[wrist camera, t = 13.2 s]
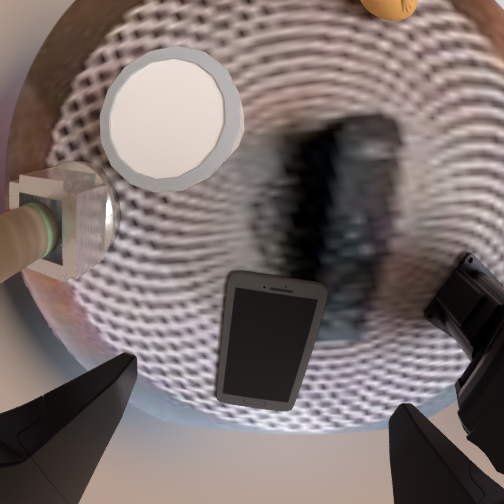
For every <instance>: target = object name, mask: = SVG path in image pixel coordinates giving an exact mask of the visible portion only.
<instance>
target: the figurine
mask: <svg viewBox="0 0 504 504" xmlns="http://www.w3.org/2000/svg"><path fill="white" fill-rule="evenodd" d="M360 1H361V3H362V4H363V6H364V7H365V8H366V9H367V10H368V11H369V12H370V13H372V14H373V15H375V16H377V17H379V18H381V19H385V20H390V21H397V20H402V19H405V18H407V17H409V16H410V15H411V14H412V13H413V12H414V10H415V8H416V6H417V0H360Z"/></svg>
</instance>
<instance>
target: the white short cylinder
mask: <svg viewBox="0 0 504 504" xmlns="http://www.w3.org/2000/svg"><path fill="white" fill-rule="evenodd" d="M243 133H244V113H243V108H242V103H241V98H240V94H239V92H238V90H237V88H236V86H235V84H234V82H233V80H232V78H231V76H230V74H229V72H228V70H227V69H226V68H225V67H224V66H222V65H221V64H220V63H218V62H217V61H216V60H215V59H213V58H212V57H211V56H209V55H208V54H207V53H205V52H203V51H198V50H194V49H189V48H184V47H179V46H174V47H169V48H164V49H159V50H154V51H150V52H148V53H146V54H145V55H143V56H141V57H140V58H138V59H137V60H135V61H133V62H132V63H130V64H129V65H127V66H126V67H125V68H124V69H123V70H122V72H121V73H120V74H119V76H118V77H117V78H116V79H115V81H114V82H113V83H112V85H111V86H110V87H109V89H108V91H107V94H106V97H105V100H104V103H103V107H102V110H101V113H100V135H101V144H102V146H103V148H104V151H105V153H106V155H107V157H108V160H109V162H110V164H111V166H112V167H113V168H114V169H115V170H116V171H117V172H118V173H119V174H120V175H121V176H122V177H123V178H124V179H125V180H127V181H128V182H129V183H130V184H132V185H135V186H138V187H140V188H143V189H146V190H149V191H151V192H154V193H157V192H172V191H183V190H185V189H187V188H189V187H191V186H193V185H195V184H197V183H199V182H201V181H203V180H205V179H207V178H209V177H210V176H211V175H212V174H213V173H214V172H215V171H216V170H217V169H218V168H219V167H220V166H221V165H222V163H223V162H224V161H225V160H226V159H227V158H228V157H229V156H230V155H231V154H232V153H233V152H234V151H235V150H236V149H237V147H238V146H239V144H240V141H241V138H242V136H243Z"/></svg>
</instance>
